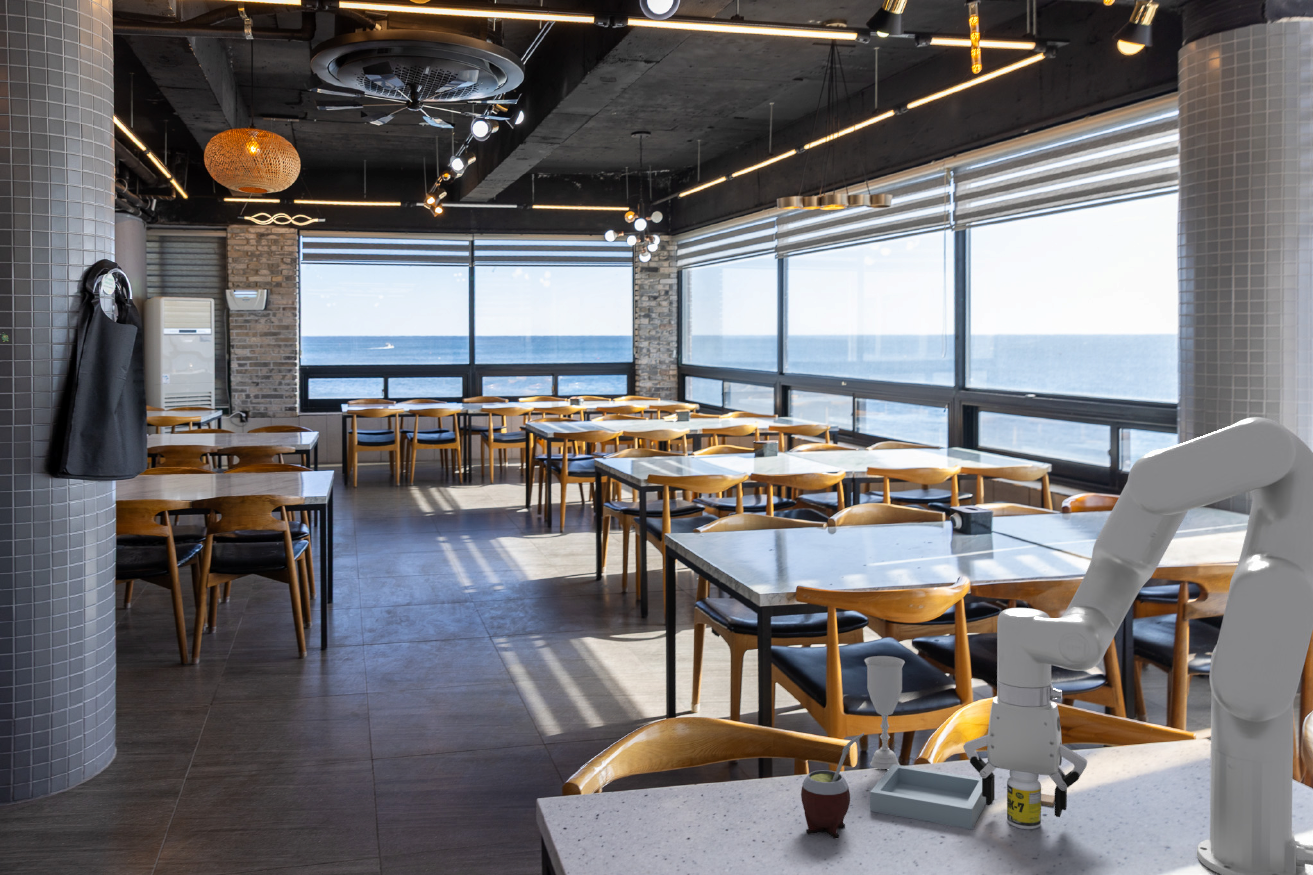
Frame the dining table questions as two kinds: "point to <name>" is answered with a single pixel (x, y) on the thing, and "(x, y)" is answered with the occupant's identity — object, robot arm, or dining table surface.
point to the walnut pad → (1047, 799)
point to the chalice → (884, 700)
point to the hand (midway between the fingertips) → (1023, 807)
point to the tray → (929, 796)
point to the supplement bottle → (1023, 800)
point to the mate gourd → (826, 798)
